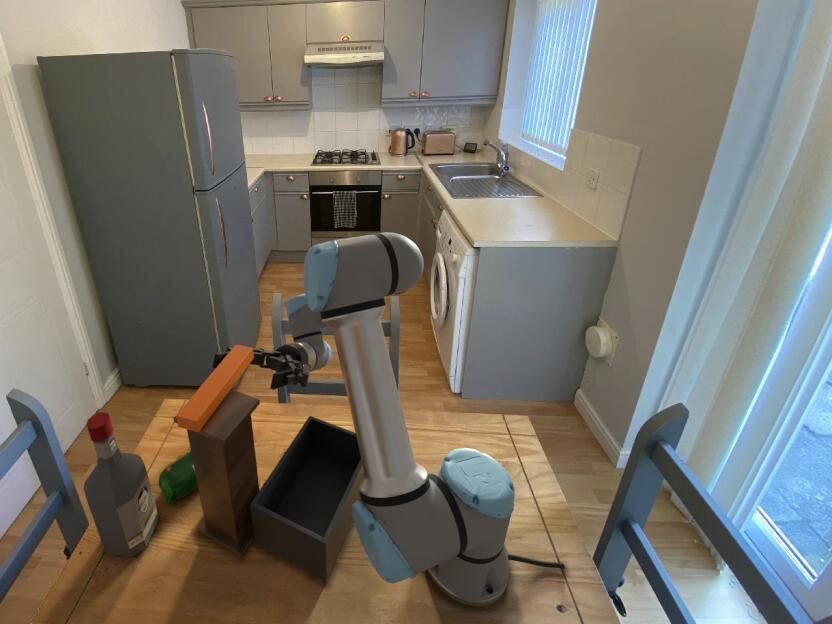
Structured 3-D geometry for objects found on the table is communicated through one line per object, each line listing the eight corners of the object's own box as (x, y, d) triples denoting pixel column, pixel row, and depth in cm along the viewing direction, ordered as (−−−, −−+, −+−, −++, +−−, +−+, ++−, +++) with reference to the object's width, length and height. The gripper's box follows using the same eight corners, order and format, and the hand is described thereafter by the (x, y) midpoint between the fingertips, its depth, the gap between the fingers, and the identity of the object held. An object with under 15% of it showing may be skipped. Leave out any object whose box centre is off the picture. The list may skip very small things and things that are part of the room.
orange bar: (254, 357, 86) (253, 347, 85) (198, 432, 69) (196, 421, 68) (236, 354, 88) (235, 344, 87) (178, 426, 70) (175, 415, 69)
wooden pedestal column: (270, 510, 87) (259, 399, 76) (241, 557, 79) (224, 440, 67) (228, 489, 92) (211, 381, 80) (197, 531, 84) (173, 418, 72)
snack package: (234, 467, 97) (231, 450, 95) (168, 512, 87) (164, 494, 85) (219, 448, 102) (216, 432, 100) (155, 488, 92) (151, 471, 90)
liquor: (97, 555, 80) (55, 439, 68) (123, 508, 88) (89, 398, 77) (142, 560, 79) (107, 444, 67) (164, 513, 87) (136, 402, 76)
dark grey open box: (372, 475, 94) (373, 439, 90) (326, 583, 75) (325, 544, 71) (311, 450, 101) (309, 415, 96) (254, 543, 81) (249, 504, 77)
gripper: (339, 391, 93) (295, 412, 74) (247, 360, 104) (189, 371, 85) (346, 358, 94) (304, 370, 75) (254, 330, 104) (197, 334, 85)
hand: (243, 370), depth 80 cm, fingers open, 13 cm apart
